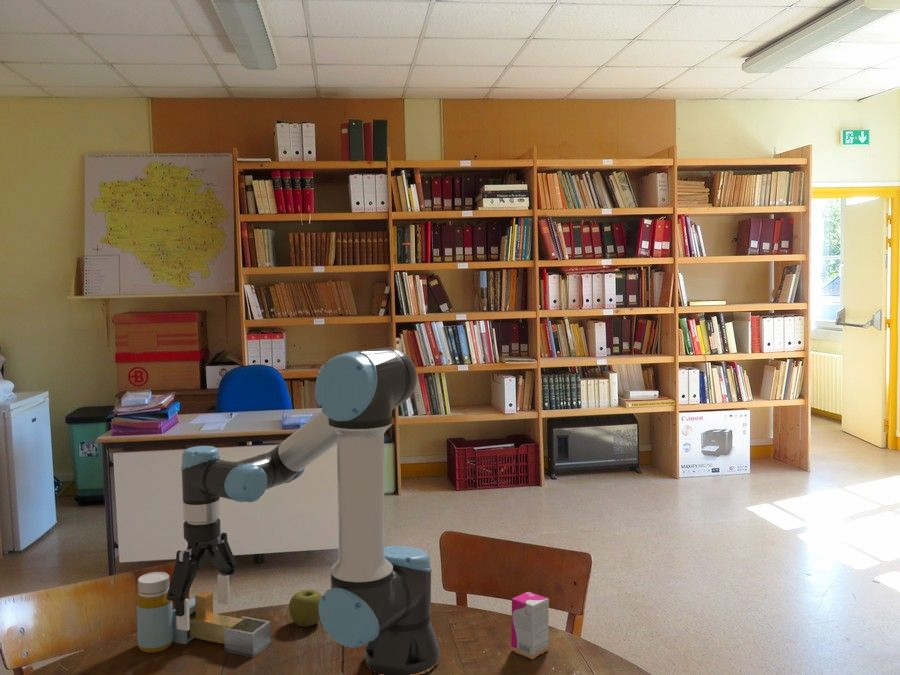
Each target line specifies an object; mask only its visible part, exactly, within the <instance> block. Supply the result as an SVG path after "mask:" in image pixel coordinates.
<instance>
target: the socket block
mask: <svg viewBox="0 0 900 675" xmlns="http://www.w3.org/2000/svg"><path fill="white" fill-rule="evenodd" d="M172 611H173V643H175V644H176V643H177V644H181V645H186V644H188V643H189V642H191V641H192V640H194V639H195V638H193V637H188V636H187V631H185V630H180V629H177V619H176V615H175V608H174V609H172ZM193 612H195V597H193V598H191V599H189V615H190V614H191V613H193Z"/></svg>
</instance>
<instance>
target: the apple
mask: <svg viewBox="0 0 900 675" xmlns="http://www.w3.org/2000/svg"><path fill="white" fill-rule="evenodd" d="M322 596H323V595H322V593H321V592H319V591H318V590H315V589H303V590H300V591H298V592H296V593H294V594H293V595H292V597H291V598H290V601H289V603H288V611H289V615H290V618H291V619H292V621H293V622H294V623H295V625H297V626H299V627H304V628H306V627H307V628H308V627H311V626H314V625H315V624H318V623H319V621H321V620H320V617H319V602H320V599H321V597H322Z"/></svg>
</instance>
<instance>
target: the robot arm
mask: <svg viewBox="0 0 900 675" xmlns="http://www.w3.org/2000/svg"><path fill="white" fill-rule="evenodd" d="M416 369H417V368H416V366H415V363H414V362H413V360H412V359H411V358H410V356H409V355H407V353H405V352H404V351H402V350H400V349H398V348H395V347H389V346H386V347H385V346H384V347H382V346H381V347H377V348H371V349H365V350H364V349H362V350H355V351H347V352H343V353H342V354H338V355H336V356H333V357H332V358H330V359H329V360H328V361H327V362H326V363H325V364H323V366H322V367H321V368H320V370H319V372H318V375H317V376H316V379H315V380H316V381H315V384H314V385H315V387H314V394H315V400H316V403H317V406H318V407H321V411H320V412H319V413H318V414H315V415H314V417H312V418H311V419H309V420H308V421H307V422H305V423H304V424H303V425H302V426H301V427H300V428H298V429H297V430H295V431H294V432H293V433H292V434H290V435H289V436H288V437H286V439H284V440H283V441H282V442H280V443H279V444H278V445H276V447H274V448H273V449H271V450H270V451H268V452H264V453H262V454H259V455H256V456H252V457H249V458H245V459H242V460H238V461H228V460H224V459H220V454H219V449H218V448H217V447H215V446H213V445H212V446H211V445H197V446H192V447H188V448H186V449H184V450H183V451H182V454H181V468H180V471H181V487H182V503H183V505H182V507H183V508H182V511H183V514H182V515H183V517H182V518H183V520H184V522H183V525H182V527H183V539H184V540H185V541H186V543H187V548H186V549H185V550H179V549H178V550H177V551H176V555H175V557H176V558H175V563H174V564H175V565H174V568H173V572H172V575H171V580H170V582H169V584H170V585H169V590H168V594H167V600H170V601H172V602H174V609H175V615H176V619H177V629H180V630H185V631H188V630H190V618H189V600H190V599H189V598H187V597H188V595H189V592H190V590H191V587H192V585H193V582H194V580H195V577H196V576H197V573H198V571H199V570H200V569H201V568H202V567H203V565H205V564H206V563H207V562H211V563H212V564H213V565H214V567H215V568H216V569H217V571H218V572H219V573H218V574H217V603H218V604H221V605H230V604H231V575H235V571H236V570H235V569H236V568H237V566H238V565H237V564H238V563H237V561H236V558H235V556H234V554H233V551H232V549H231V546H230V544H229V542H228V541H229V540H228V534H227V532H223V531H222V532H221V519H220V517H221V500H220V499H227V500H231V501H235V502H238V503H239V502H240V503H254V502H256V501H258V500H259V499H260V498H261V497H262V496H263V495H264V494H265V492H266V491H267V490H269V489H272V488H275V487H278V486H281V485H284V484H289V483H291V482H292V481H295V480H296V479H299V478H300V477H301V476H303V474H304V471H305V469H306V468H307V467H309V466H310V465H311V464H313V463H314V462H315V461H317V460H319V458H321V457H322V456H324V454H326V453H327V452H329V451H331V449H333V448H334V447H335V446H336V450H337V451H336V454H337V456H336V457H337V458H336V459H337V461H336V462H337V463H336V464H337V510H338V511H337V517H338V519H337V521H338V522H337V523H338V525H337V526H338V528H337V530H338V534H337V535H338V536H337V537H338V560H337V561H336V562H335V563H334V564H333V565H332V566H331V568H330V589H327V590H326V591H325V592H324V594H323V595H322V597H321V599H320V602H319V617H320V620H319V621H320V622H321V625H322V627H323V629H324V630H325V632H326V633H328V634H329V636H330V638H331V639H332V640H334V641H335V642H336V643H338V644H339V645H342V646H343V647H346V648H352V649H355V648H361V647H363V646H365V645H366V647H365V652H364V656H365V659H364V660H365V661H366V662H365V661H364V662H365V665H366V664H367V665H366V667H367V666H368V667H369V668H370V669H371V670H373V671H375V672H376V673H379V674H384V675H410V674H416V673H419V672H422V671H425V670H427V669H429V668H431V667H432V666H433V665H435V664H436V663H437V661H438V659H439V660H440V646H439V643H438V639H437V636H436V634H435V631H434V628H433V625H432V622H431V621H432V617H431V616H432V615H431V614H432V606H431V605H432V602H431V601H432V567H431V565H432V564H431V558H430V555H429V554H428V553H427V552H426V551H425V550H424V549H421V548H417V547H413V546H408V545H389V546H386V542H385V540H386V539H385V538H386V534H385V530H386V529H385V527H386V526H385V513H386V512H385V433H386V431H387V430H388V429H389V428H390V427H391V426H392V425H393V410H394V409H395V408H397V407H398V406H400V405H402V404H404V403H405V402H406V401H408V400H409V398H411V396H412V395H413V394H414V391H415V389H416V387H417V384H418V383H417V382H418V374H417V370H416ZM368 667H367V668H368ZM369 668H368V669H369ZM370 669H369V670H370ZM371 670H370V671H371ZM373 671H372V672H373ZM376 673H375V674H376ZM379 674H378V675H379Z"/></svg>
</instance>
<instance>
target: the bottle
mask: <svg viewBox="0 0 900 675" xmlns="http://www.w3.org/2000/svg"><path fill="white" fill-rule="evenodd" d="M169 586H170V575H169V574H168V573H167V572H165V571H154V572H153V571H152V572H148V573H145V574H142V575H141V576H140V577H138V578H137V589H138V591H137V592H138V596H137V599H136V623H137V624H136V626H137V627H136V628H137V629H136V630H137V646H138V649H139V650H141V652H143V653H147V654H155V653H160V652H163V651H165V650H167V649H169V648H170V647H171V646H172V644H173V643H174V642H173V611H172V610H173V601H170V600H167V594H168V590H169Z"/></svg>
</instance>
